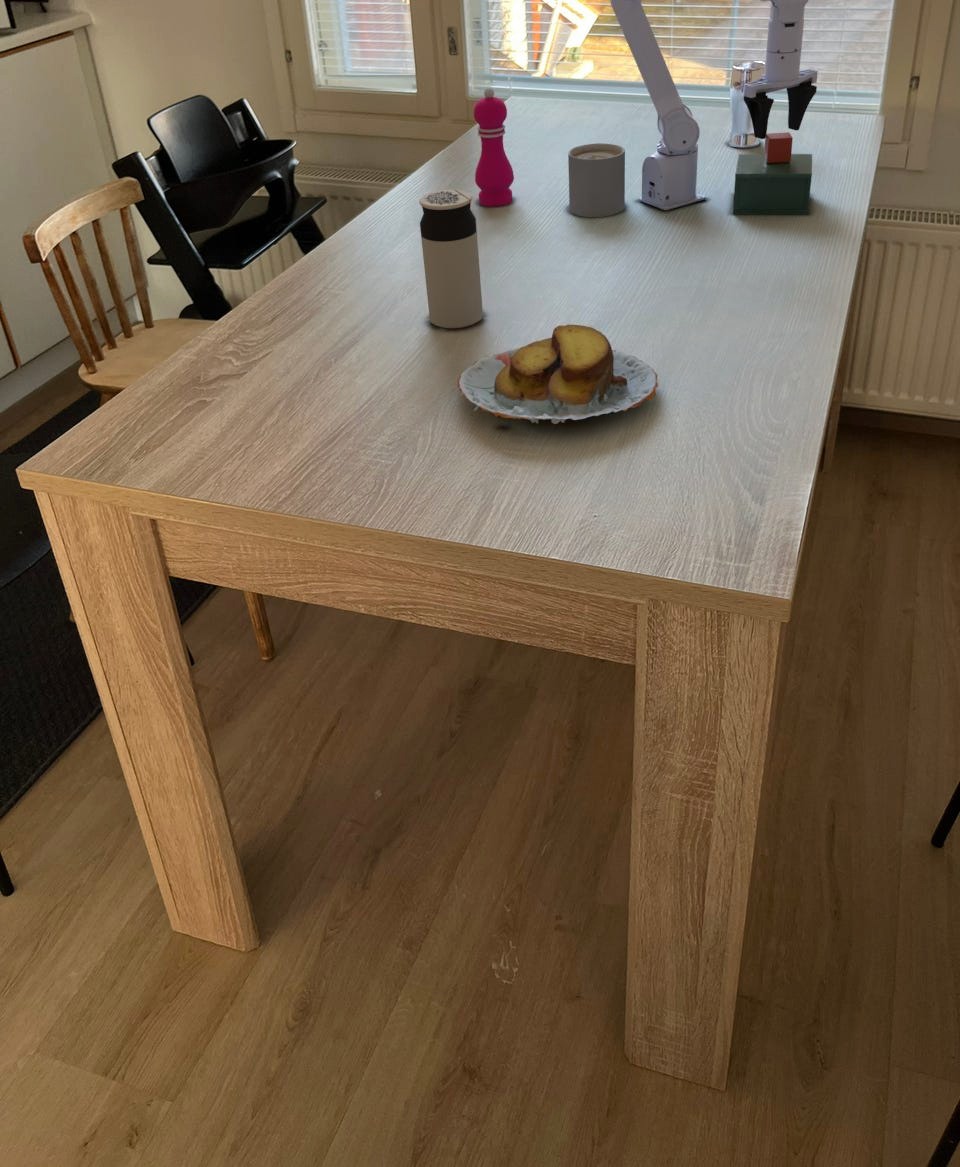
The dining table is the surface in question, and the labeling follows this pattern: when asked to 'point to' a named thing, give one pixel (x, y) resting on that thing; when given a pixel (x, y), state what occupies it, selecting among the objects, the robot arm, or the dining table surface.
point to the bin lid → (773, 167)
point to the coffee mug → (596, 180)
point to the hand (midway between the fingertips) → (776, 133)
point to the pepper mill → (492, 152)
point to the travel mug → (451, 259)
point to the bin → (771, 196)
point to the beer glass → (743, 103)
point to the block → (778, 147)
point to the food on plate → (559, 378)
